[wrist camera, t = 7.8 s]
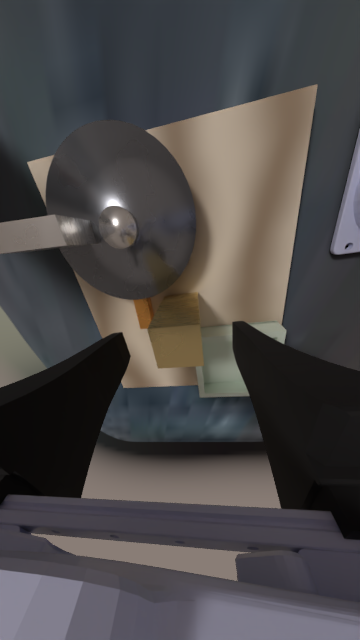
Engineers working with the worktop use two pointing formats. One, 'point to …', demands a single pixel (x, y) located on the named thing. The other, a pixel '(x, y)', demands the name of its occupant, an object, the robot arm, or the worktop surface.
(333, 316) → the worktop surface
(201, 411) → the worktop surface
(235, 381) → the tray
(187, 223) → the crank
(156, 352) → the block
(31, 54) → the worktop surface
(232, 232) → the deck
